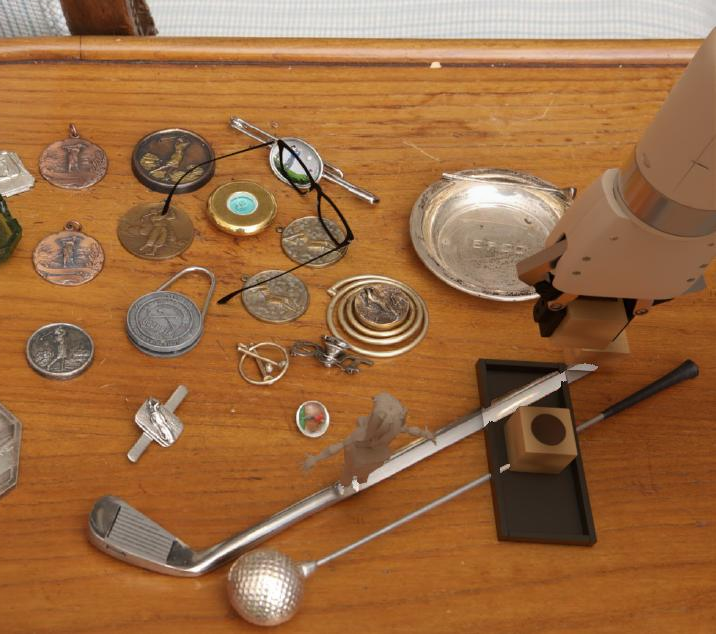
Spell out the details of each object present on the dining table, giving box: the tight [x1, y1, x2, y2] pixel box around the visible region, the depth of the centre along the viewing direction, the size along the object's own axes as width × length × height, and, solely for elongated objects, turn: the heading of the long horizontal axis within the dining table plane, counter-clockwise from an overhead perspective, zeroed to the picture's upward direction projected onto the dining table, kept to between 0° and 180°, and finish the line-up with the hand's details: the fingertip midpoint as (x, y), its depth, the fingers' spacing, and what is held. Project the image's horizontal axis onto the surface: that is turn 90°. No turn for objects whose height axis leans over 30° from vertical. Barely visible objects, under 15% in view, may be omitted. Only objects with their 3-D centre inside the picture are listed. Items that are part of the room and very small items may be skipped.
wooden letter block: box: [561, 328, 631, 374], centre depth 89 cm, size 4×4×5 cm
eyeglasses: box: [161, 138, 355, 305], centre depth 97 cm, size 16×16×4 cm
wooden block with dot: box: [503, 406, 578, 474], centre depth 83 cm, size 4×4×5 cm
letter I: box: [548, 295, 628, 350], centre depth 75 cm, size 4×4×5 cm
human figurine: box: [298, 391, 438, 488], centre depth 76 cm, size 12×4×18 cm, turn 103°
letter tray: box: [474, 357, 598, 548], centre depth 85 cm, size 8×18×2 cm, turn 176°
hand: (574, 323), depth 77 cm, fingers closed on letter I, 4 cm apart
